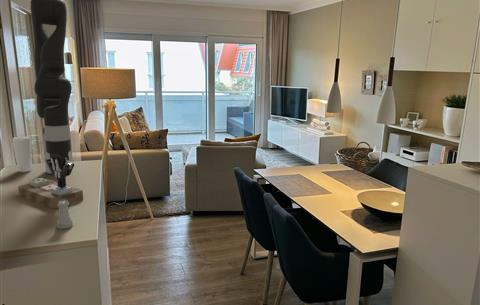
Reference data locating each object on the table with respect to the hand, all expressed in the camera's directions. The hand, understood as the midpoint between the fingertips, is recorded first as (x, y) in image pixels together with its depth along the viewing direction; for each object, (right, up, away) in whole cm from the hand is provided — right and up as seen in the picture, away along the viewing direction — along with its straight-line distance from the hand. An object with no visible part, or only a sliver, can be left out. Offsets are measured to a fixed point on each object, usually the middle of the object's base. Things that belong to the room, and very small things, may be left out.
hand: (61, 187), depth 120 cm
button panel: (-6, -4, +5) cm, 9 cm away
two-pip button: (0, -3, +1) cm, 3 cm away
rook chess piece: (+10, -10, -17) cm, 22 cm away
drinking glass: (-34, +4, +34) cm, 48 cm away
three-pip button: (-12, -1, +8) cm, 14 cm away
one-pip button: (-6, -3, +4) cm, 8 cm away
